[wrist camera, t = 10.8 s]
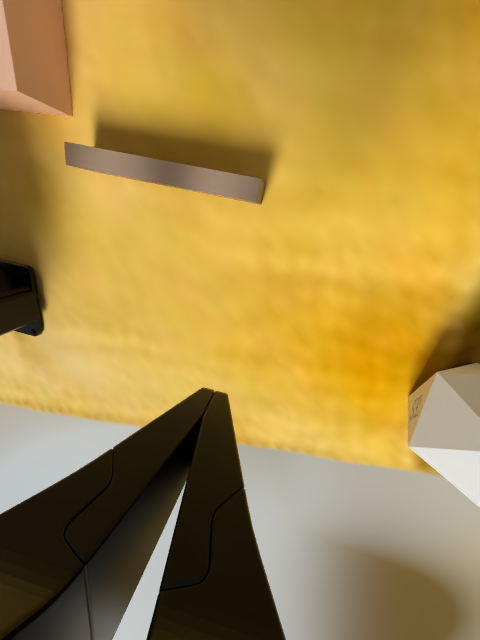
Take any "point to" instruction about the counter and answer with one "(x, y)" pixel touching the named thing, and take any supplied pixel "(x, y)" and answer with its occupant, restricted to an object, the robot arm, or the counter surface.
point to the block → (34, 58)
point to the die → (449, 426)
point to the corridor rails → (165, 173)
